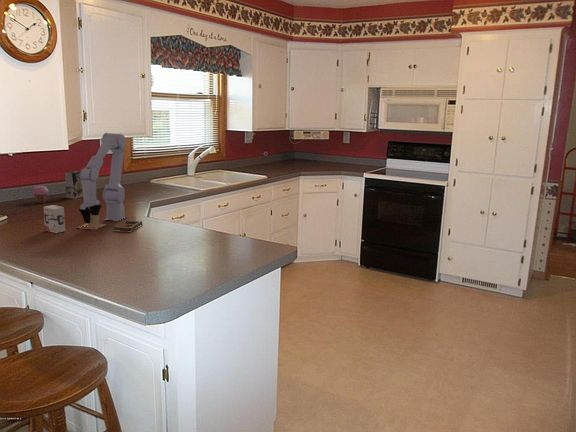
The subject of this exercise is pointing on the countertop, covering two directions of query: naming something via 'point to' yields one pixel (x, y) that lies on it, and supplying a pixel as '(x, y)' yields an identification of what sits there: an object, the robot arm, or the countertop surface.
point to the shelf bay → (136, 224)
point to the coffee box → (73, 185)
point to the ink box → (54, 218)
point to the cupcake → (40, 193)
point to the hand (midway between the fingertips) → (91, 221)
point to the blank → (94, 221)
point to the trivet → (95, 228)
